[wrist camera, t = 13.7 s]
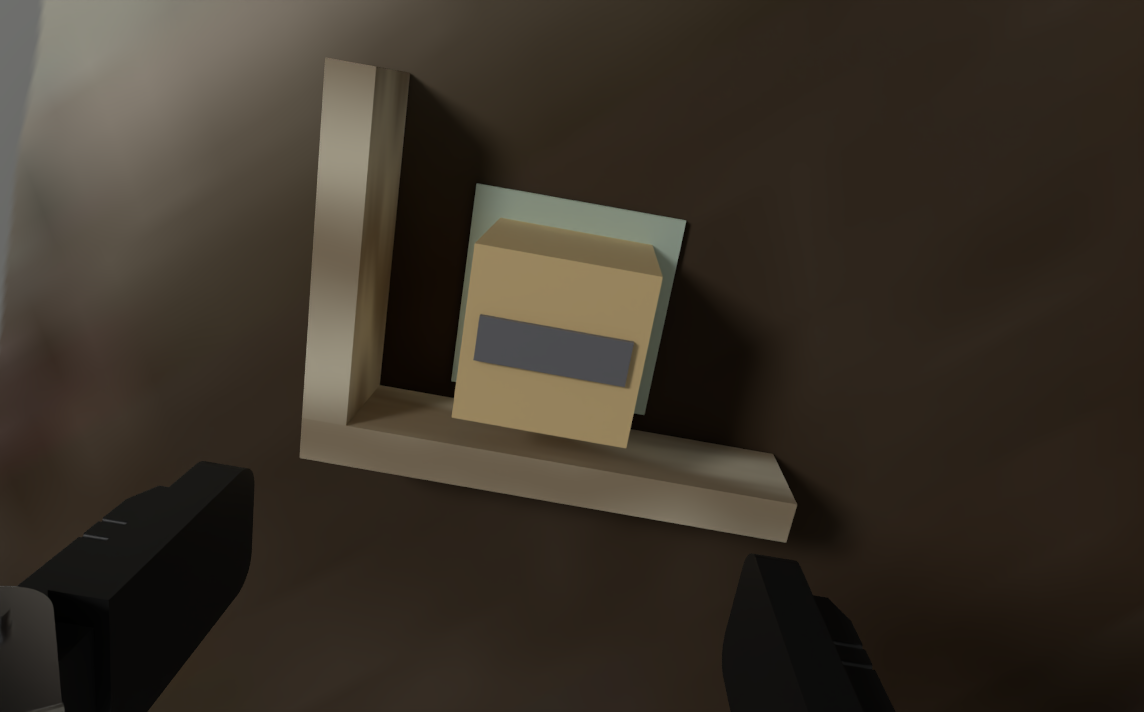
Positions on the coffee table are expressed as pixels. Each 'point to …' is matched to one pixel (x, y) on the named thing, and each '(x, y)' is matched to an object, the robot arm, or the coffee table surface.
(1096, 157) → the coffee table surface
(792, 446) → the coffee table surface
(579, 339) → the ochre cube
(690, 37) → the coffee table surface
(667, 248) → the pad
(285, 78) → the coffee table surface
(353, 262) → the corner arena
